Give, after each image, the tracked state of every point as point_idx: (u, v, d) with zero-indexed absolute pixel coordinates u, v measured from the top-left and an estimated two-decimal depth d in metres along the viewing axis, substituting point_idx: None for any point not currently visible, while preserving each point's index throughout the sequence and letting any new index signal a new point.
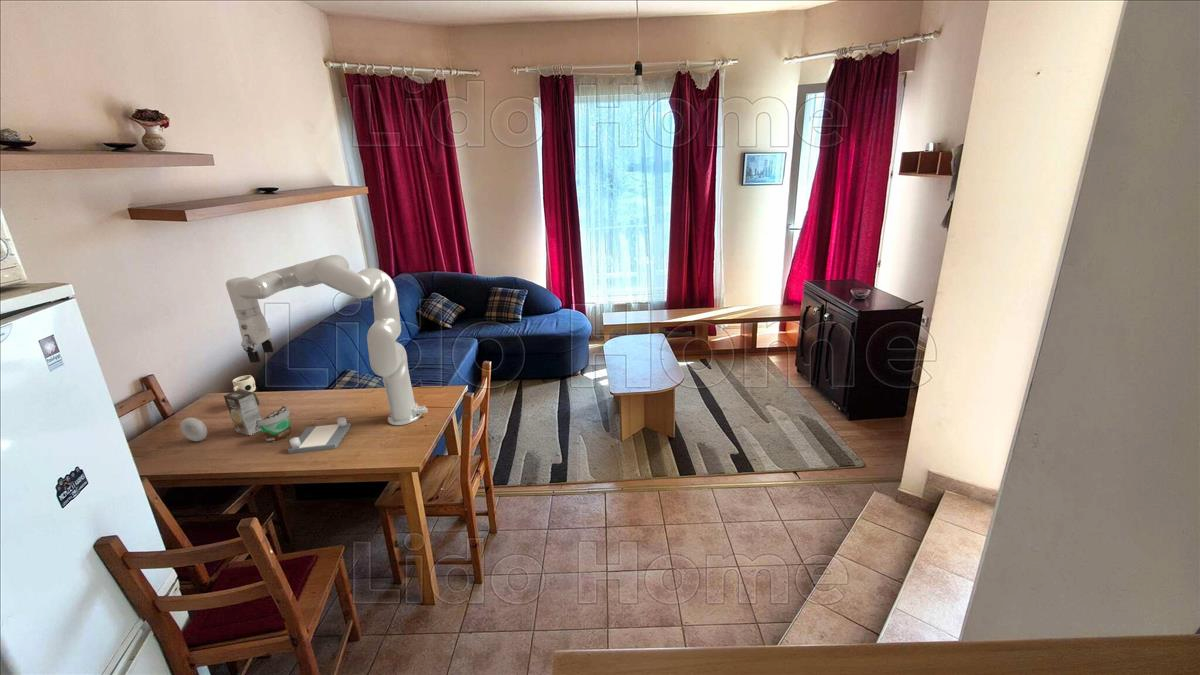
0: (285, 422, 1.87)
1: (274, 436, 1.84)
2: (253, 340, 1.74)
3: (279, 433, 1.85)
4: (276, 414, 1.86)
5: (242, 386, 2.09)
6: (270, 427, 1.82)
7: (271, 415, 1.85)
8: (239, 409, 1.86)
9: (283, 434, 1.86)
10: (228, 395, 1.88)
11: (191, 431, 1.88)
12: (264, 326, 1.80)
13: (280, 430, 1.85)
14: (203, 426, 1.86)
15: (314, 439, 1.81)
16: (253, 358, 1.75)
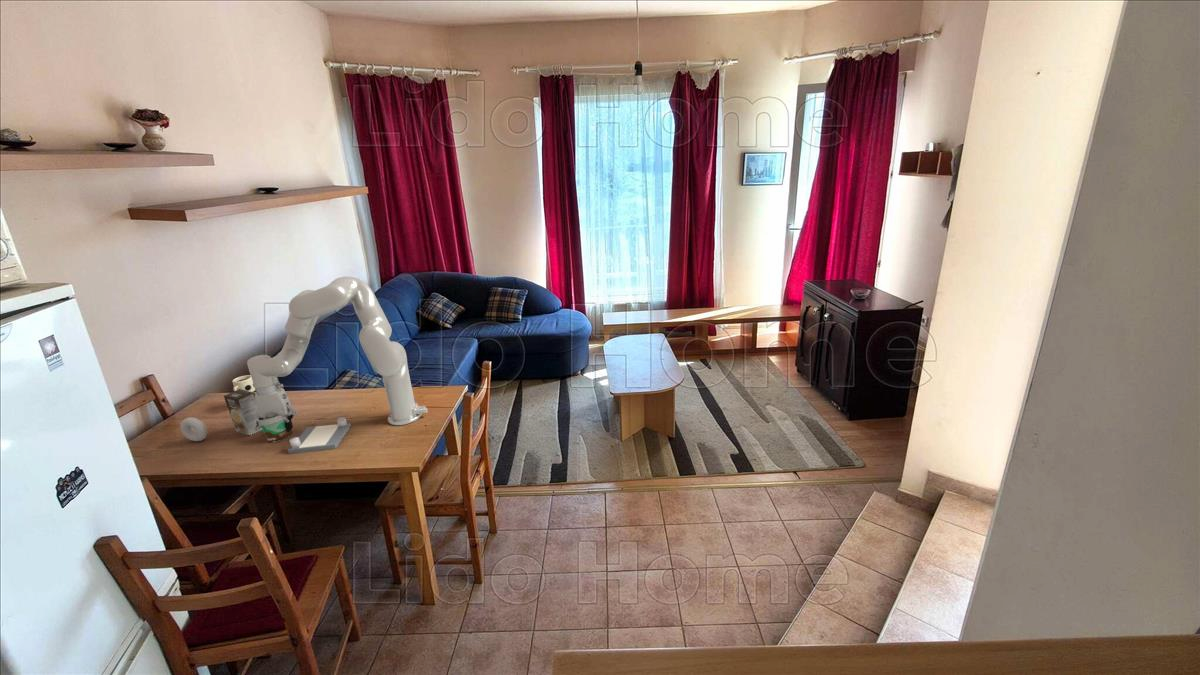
0: None
1: (275, 436, 1.84)
2: None
3: (280, 433, 1.85)
4: None
5: (242, 386, 2.09)
6: (271, 427, 1.82)
7: None
8: (239, 409, 1.86)
9: (284, 434, 1.86)
10: (228, 395, 1.88)
11: (191, 431, 1.88)
12: None
13: (281, 430, 1.85)
14: (203, 426, 1.86)
15: (314, 439, 1.81)
16: (292, 425, 1.88)
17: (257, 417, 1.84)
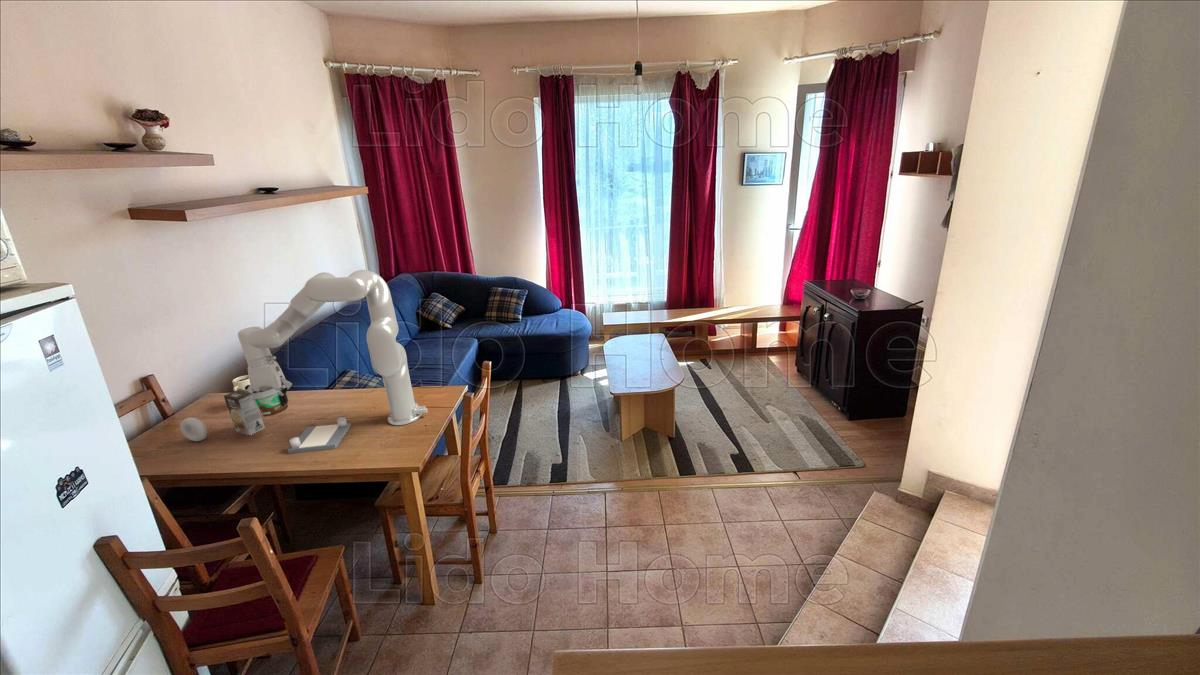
0: None
1: (270, 410, 1.81)
2: None
3: (275, 406, 1.81)
4: None
5: (242, 386, 2.09)
6: (265, 400, 1.79)
7: None
8: (239, 409, 1.86)
9: (279, 408, 1.83)
10: (228, 395, 1.88)
11: (191, 431, 1.88)
12: None
13: (276, 403, 1.82)
14: (203, 426, 1.86)
15: (314, 439, 1.81)
16: (286, 399, 1.84)
17: (251, 391, 1.81)
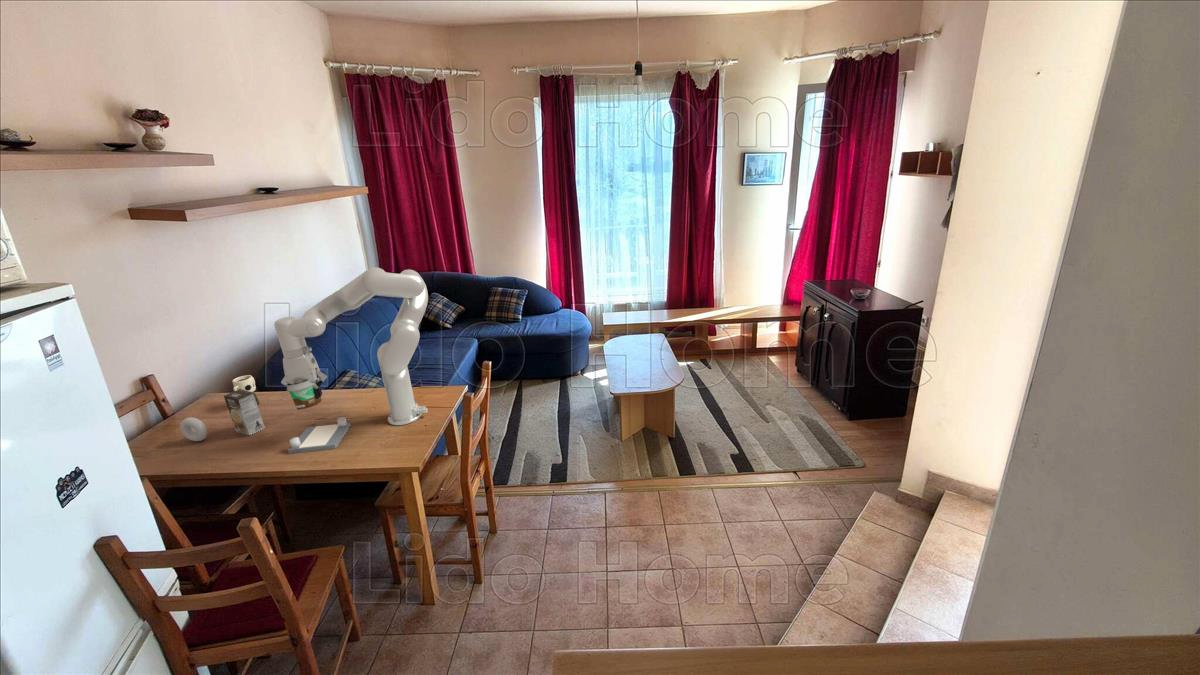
0: None
1: (304, 403, 1.75)
2: None
3: (309, 399, 1.76)
4: None
5: (242, 386, 2.09)
6: (300, 393, 1.73)
7: None
8: (239, 409, 1.86)
9: (313, 401, 1.77)
10: (228, 395, 1.88)
11: (191, 431, 1.88)
12: None
13: (310, 396, 1.76)
14: (203, 426, 1.86)
15: (314, 439, 1.81)
16: (321, 392, 1.79)
17: (285, 383, 1.75)
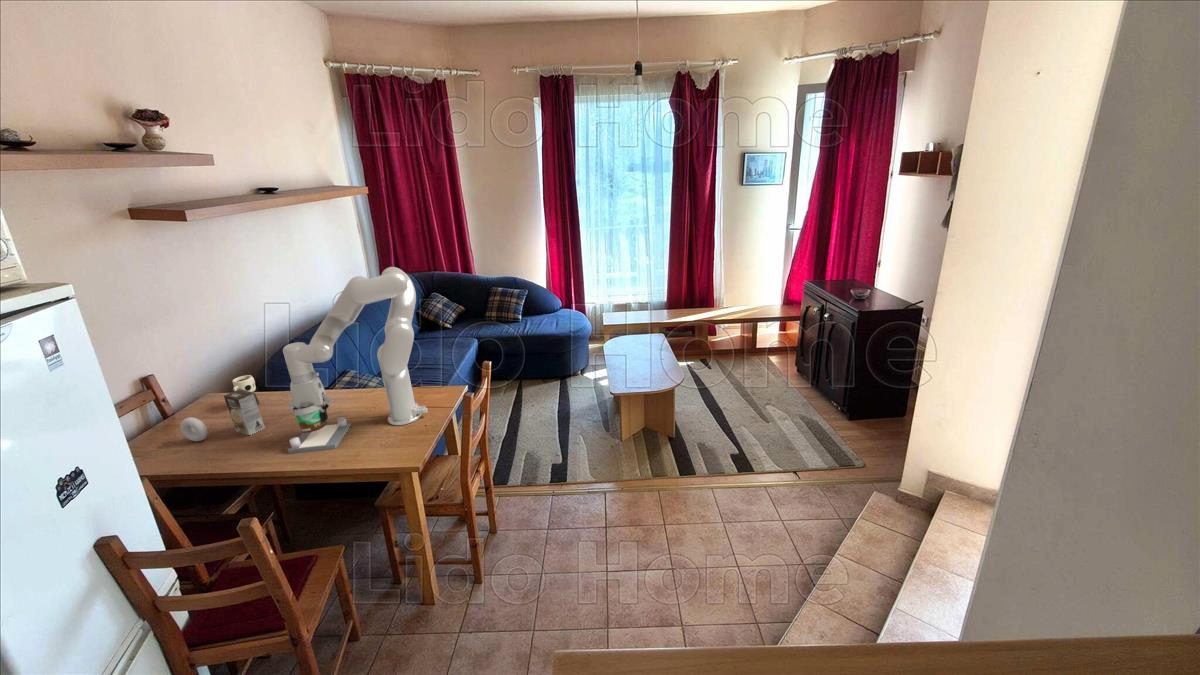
0: None
1: (310, 426, 1.78)
2: (326, 396, 1.81)
3: (315, 423, 1.79)
4: None
5: (242, 386, 2.09)
6: (307, 417, 1.76)
7: None
8: (239, 409, 1.86)
9: (319, 424, 1.80)
10: (228, 395, 1.88)
11: (191, 431, 1.88)
12: None
13: (316, 420, 1.79)
14: (203, 426, 1.86)
15: (314, 439, 1.81)
16: (326, 415, 1.82)
17: (292, 407, 1.78)
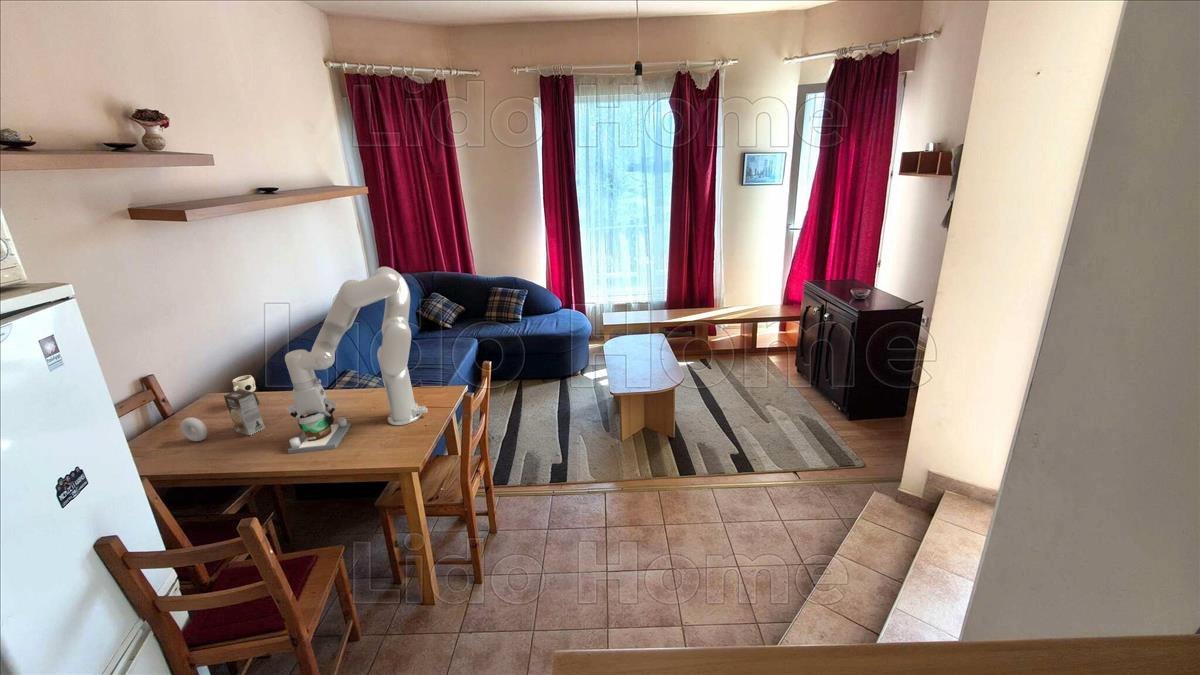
0: (326, 420, 1.82)
1: (315, 435, 1.80)
2: None
3: (320, 431, 1.80)
4: None
5: (242, 386, 2.09)
6: (312, 425, 1.78)
7: None
8: (239, 409, 1.86)
9: (324, 432, 1.82)
10: (228, 395, 1.88)
11: (191, 431, 1.88)
12: None
13: (321, 428, 1.81)
14: (203, 426, 1.86)
15: None
16: (333, 419, 1.83)
17: (290, 411, 1.79)
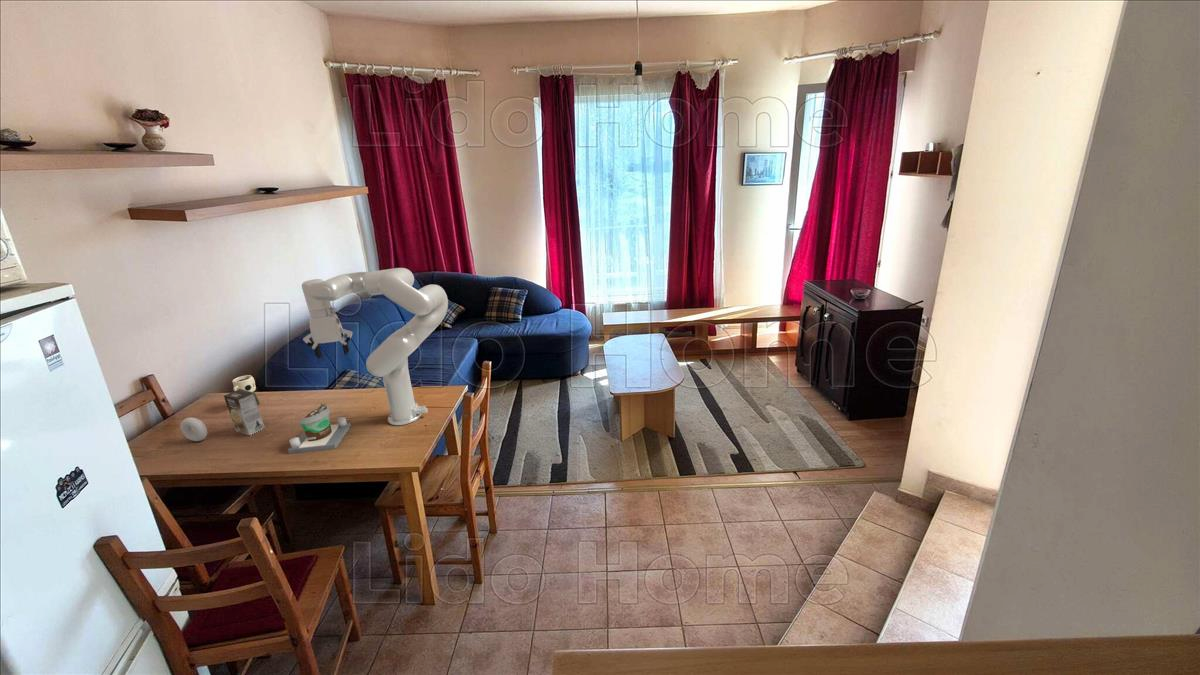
0: (326, 420, 1.82)
1: (315, 435, 1.80)
2: None
3: (321, 431, 1.80)
4: (317, 412, 1.81)
5: (242, 386, 2.09)
6: (312, 425, 1.78)
7: (312, 413, 1.80)
8: (239, 409, 1.86)
9: (324, 433, 1.82)
10: (228, 395, 1.88)
11: (191, 431, 1.88)
12: None
13: (322, 428, 1.81)
14: (203, 426, 1.86)
15: None
16: (348, 348, 1.90)
17: (306, 341, 1.85)
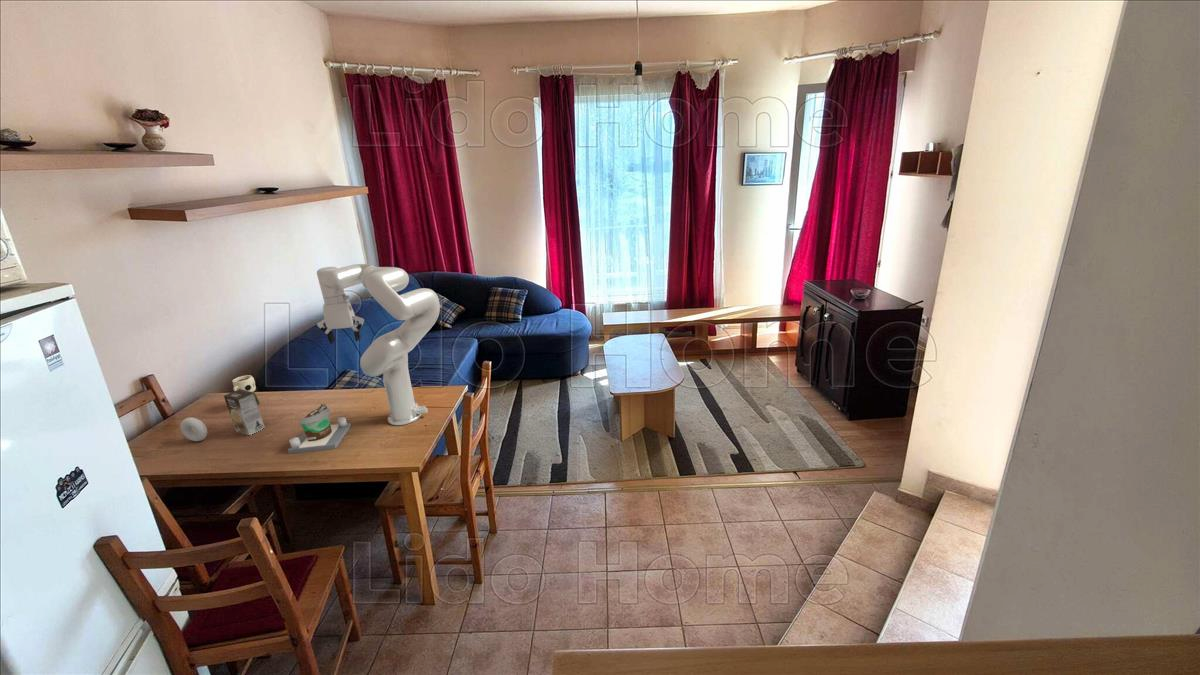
0: (326, 420, 1.82)
1: (315, 435, 1.80)
2: None
3: (321, 431, 1.80)
4: (317, 412, 1.81)
5: (242, 386, 2.09)
6: (312, 425, 1.78)
7: (312, 413, 1.80)
8: (239, 409, 1.86)
9: (324, 433, 1.82)
10: (228, 395, 1.88)
11: (191, 431, 1.88)
12: None
13: (322, 428, 1.81)
14: (203, 426, 1.86)
15: None
16: (360, 335, 1.96)
17: (320, 326, 1.92)
